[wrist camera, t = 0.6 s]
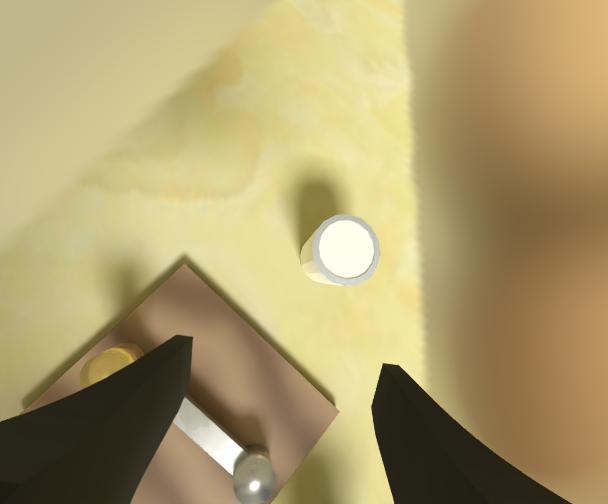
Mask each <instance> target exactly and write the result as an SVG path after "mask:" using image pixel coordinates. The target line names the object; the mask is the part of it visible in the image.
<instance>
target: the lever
mask: <svg viewBox="0 0 608 504" xmlns="http://www.w3.org/2000/svg"><path fill="white" fill-rule="evenodd" d="M142 356H144V352H143V351H142V349H141V348H140V347H139V346H137V345H135V344H132V343H123V344H119V345H117V346H115V347H113V348H111V349H109V350H106V351H104V352H102V353H100V354H98V355H96V356H94V357H92V358H91V359H89V360H88V361H87V362H86V363H85V364H84V366H83V367H82V369H81V372H80V376H79V382H80V386H81V388H82V389H84V388H86V387H88V386H90V385H92V384H94V383H96V382H98V381H100V380H102V379H104V378H106V377H108V376H110V375H111V374H113V373H115V372H117V371H118V370H120V369H122V368H124V367H125V366H127V365H129V364H131V363H132V362H134V361H136V360H137V359H139V358H140V357H142ZM173 423H174V424H176V425H177V426H178V427H179V428H180V429H181V430H182V431H183V432H185V433H186V434H187V435H188V436H189V437H190V438H191V439H192V440H194V441H195V442H196V443H197V444H198V445H199V446H200V447H201V448H202V449H204V450H205V451H206V452H207V453H208V454H209V455H210V456H211V457H213V458H214V459H215V460H216V461H217V462H218V463H219V464H220V465H222V466H223V467H224V468H225V469H226V470H227V471H228V472H229V473H231V474H232V476H233V489H234V494H235V496H236V498H237V499H238V501H239V502H241V503H242V504H261V503H263V502H264V501H266V500H267V499H268V498H269V497H270V495H271V494H272V492H273V490H274V487H275V483H276V475H275V471H274V468H273V465H272V462H271V459H270V456H269V453H268V451H267V450H266V449H265V448H264V447H263V446H261V445H259V444H249V445H246V446H244V445H243V444H242V443H241V442H240V441H239V440H238V439H236V438H235V437H234V436H233V435H232V434H231V433H230V432H229V431H228V430H227V429H225V428H224V427H223V426H222V425H221V424H220V423H219V422H218V421H217V420H216V419H214V418H213V417H212V416H211V415H210V414H209V413H208V412H207V411H206V410H204V409H203V408H202V407H201V406H200V405H199V404H198V403H197V402H196V401H195V400H193V399H192V398H191V397H190V396H189V395H188V394H187V393H186V394H185V397H184V399H183V402H182V404H181V407H180V409H179V411H178V413H177V415H176V417H175V418H174V420H173Z"/></svg>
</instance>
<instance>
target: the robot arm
mask: <svg viewBox="0 0 608 504" xmlns="http://www.w3.org/2000/svg"><path fill="white" fill-rule="evenodd" d="M192 346H193V337H191V336H184V335H175V336H173V337H172V338H170V339H169V340H167V341H165V342H164V343H162V344H161V345H159V346H158V347H156V348H155V349H153V350H152V351H150V352H148V353H147V354H145V355H144V356H142V357H140V358H139V359H137V360H136V361H134V362H132V363H131V364H129V365H127V366H125V367H124V368H122V369H120V370H118V371H117V372H115V373H113V374H111V375H110V376H108V377H106V378H104V379H102V380H100V381H98V382H96V383H94V384H92V385H90V386H88V387H86V388H84V389H82V390H80V391H78V392H76V393H73V394H71V395H69V396H67V397H64V398H62V399H60V400H57V401H55V402H52V403H50V404H47V405H45V406H42V407H40V408H37V409H35V410H32V411H30V412H27V413H24V414H21V415H19V416H16V417H13V418H10V419H7V420H4V421H1V422H0V504H130V503H131V501H132V499H133V496H134V494H135V492H136V490H137V487H138V485H139V483H140V481H141V479H142V477H143V475H144V473H145V471H146V469H147V468H148V466H149V464H150V462H151V460H152V458H153V457H154V455H155V453H156V451H157V449H158V448H159V446H160V444H161V442H162V440H163V438H164V437H165V435H166V433H167V431H168V429H169V428H170V426H171V424H172V422H173V420H174V418H175V417H176V415H177V413H178V411H179V409H180V407H181V404H182V402H183V399H184V397H185V394H186V392H187V389H188V387H189V384H190V376H191V361H192ZM371 408H372V416H373V423H374V429H375V435H376V439H377V442H378V446H379V450H380V453H381V457H382V461H383V464H384V468H385V471H386V475H387V478H388V482H389V485H390V489H391V492H392V496H393V500H394V504H572V503H570V502H568V501H567V500H565V499H563V498H562V497H560V496H558V495H557V494H555V493H553V492H552V491H550V490H548V489H547V488H545V487H544V486H542V485H540V484H539V483H537V482H536V481H534V480H533V479H531V478H530V477H528V476H527V475H525V474H524V473H522V472H521V471H520V470H518V469H517V468H515V467H514V466H512V465H511V464H509V463H508V462H507V461H505V460H504V459H502V458H501V457H500V456H498V455H497V454H496V453H494V452H493V451H492V450H490V449H489V448H488V447H487V446H485V445H484V444H482V442H480V441H479V440H478V439H476V438H475V437H474V436H473V435H472V434H470V433H469V432H468V431H467V430H466V429H464V428H463V427H462V426H461V425H460V424H459V423H458V422H456V421H455V420H454V419H453V418H452V417H451V416H450V415H449V414H448V413H447V412H446V411H444V410H443V409H442V408H441V407H440V406H439V405H438V404H437V403H436V402H435V401H434V400H433V399H432V398H431V397H430V396H429V395H428V394H427V393H426V392H425V391H424V390H423V389H422V388H421V387H420V386H419V385H418V384H417V383H416V382H415V381H414V380H413V379H412V378H411V377H410V376H409V375H408V374H407V373H406V372H405V371H404V370H403V369H402V368H401V367H400V366H399V365H393V364H385V363H383V365H382V369H381V373H380V376H379V380H378V384H377V388H376V391H375V395H374V399H373V402H372V406H371Z"/></svg>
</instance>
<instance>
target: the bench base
mask: <svg viewBox="0 0 608 504" xmlns="http://www.w3.org/2000/svg"><path fill="white" fill-rule="evenodd" d="M175 335H184V336H191V337H193V346H192V361H191V376H190V384H189V387H188V389H187V392H186V393H187V394H188V395H189V396H190V397H191V398H192V399H193V400H195V401H196V402H197V403H198V404H199V405H200V406H201V407H202V408H203V409H204V410H206V411H207V412H208V413H209V414H210V415H211V416H212V417H213V418H214V419H216V420H217V421H218V422H219V423H220V424H221V425H222V426H223V427H224V428H225V429H227V430H228V431H229V432H230V433H231V434H232V435H233V436H234V437H235V438H236V439H238V440H239V441H240V442H241V443H242V444H243V445H244V446H246V445H249V444H259V445H261V446H263V447H264V448H265V449H266V450H267V451H268V453H269V456H270V459H271V462H272V465H273V468H274V471H275V475H276V483H275V487H274V490H273V492H272V494H271V495H270V497H269V498H268V499H267V500H266V501H264V502H263V503H261V504H271V502H272V501H273V500H274V498H275V497H276V496H277V494H278V493H279V492H280V490H281V489H282V488H283V486H284V485H285V484H286V482H287V481H288V480H289V478H290V477H291V476H292V474H293V473H294V472H295V471H296V469H297V468H298V467H299V465H300V464H301V463H302V461H303V460H304V459H305V457H306V456H307V455H308V453H309V452H310V451H311V449H312V448H313V447H314V445H315V444H316V443H317V441H318V440H319V439H320V437H321V436H322V435H323V433H324V432H325V431H326V429H327V428H328V427H329V425H330V424H331V423H332V421H333V420H334V419H335V417H336V416H337V415H338V413H339V412H340V411H339V410H338V409H337V408H336V407H335V406H333V405H332V404H331V403H330V402H329V401H328V400H327V399H326V398H325V397H324V396H323V395H322V394H321V393H320V392H319V391H318V390H317V389H316V388H315V387H314V386H313V385H311V384H310V383H309V382H308V381H307V380H306V379H305V378H304V377H303V376H302V375H301V374H300V373H299V372H298V371H297V370H296V369H295V368H294V367H293V366H292V365H291V364H289V363H288V362H287V361H286V360H285V359H284V358H283V357H282V356H281V355H280V354H279V353H278V352H277V351H276V350H275V349H274V348H273V347H272V346H271V345H270V344H269V343H267V342H266V341H265V340H264V339H263V338H262V337H261V336H260V335H259V334H258V333H257V332H256V331H255V330H254V329H253V328H252V327H251V326H250V325H249V324H248V323H247V322H245V321H244V320H243V319H242V318H241V317H240V316H239V315H238V314H237V313H236V312H235V311H234V310H233V309H232V308H231V307H230V306H229V305H228V304H227V303H226V302H225V301H224V300H222V299H221V298H220V297H219V296H218V295H217V294H216V293H215V292H214V291H213V290H212V289H211V288H210V287H209V286H208V285H207V284H206V283H205V282H204V281H203V280H202V279H200V278H199V277H198V276H197V275H196V274H195V273H194V272H193V271H192V270H191V269H190V268H189V267H188V266H187V265H186V264H184V265H183V266H181V267H180V268H179V269H178V270H177V271H176V272H175V273H174V274H173V275H172V276H171V277H169V278H168V279H167V280H166V281H165V282H164V283H163V284H162V285H161V286H160V287H159V288H157V289H156V290H155V291H154V292H153V293H152V294H151V295H150V296H149V297H148V298H146V299H145V300H144V301H143V302H142V303H141V304H140V305H139V306H138V307H137V308H136V309H134V310H133V311H132V312H131V313H130V314H129V315H128V316H127V317H126V318H125V319H124V320H122V321H121V322H120V323H119V324H118V325H117V326H116V327H115V328H114V329H113V330H112V331H110V332H109V333H108V334H107V335H106V336H105V337H104V338H103V339H102V340H101V341H100V342H98V343H97V344H96V345H95V346H94V347H93V348H92V349H91V350H90V351H89V352H88V353H86V354H85V355H84V356H83V357H82V358H81V359H80V360H79V361H78V362H77V363H75V364H74V365H73V366H72V367H71V368H70V369H69V370H68V371H67V372H66V373H65V374H63V375H62V376H61V377H60V378H59V379H58V380H57V381H56V382H55V383H54V384H53V385H51V386H50V387H49V388H48V389H47V390H46V391H45V392H44V393H43V394H42V395H41V396H39V397H38V398H37V399H36V400H35V401H34V402H33V403H32V404H31V405H30V406H29V407H27V408H26V409H25V410H24V411H23V412H22V413H21V414H24V413H27V412H30V411H32V410H35V409H37V408H40V407H42V406H45V405H47V404H50V403H52V402H55V401H57V400H60V399H62V398H64V397H67V396H69V395H71V394H73V393H76V392H78V391H80V390H82V388H81V386H80V382H79V376H80V372H81V369H82V367H83V366H84V364H85V363H86V362H87V361H88V360H89V359H91V358H92V357H94V356H96V355H98V354H100V353H102V352H104V351H106V350H109V349H111V348H113V347H115V346H117V345H119V344H123V343H132V344H135V345H137V346H139V347H140V348H141V349H142V351H143V352H144V355H145V354H147V353H148V352H150V351H152V350H153V349H155V348H156V347H158V346H159V345H161V344H162V343H164V342H165V341H167V340H169V339H170V338H172V337H173V336H175ZM21 414H20V415H21ZM130 504H242V503H241V502H239V501H238V499H237V498H236V496H235V494H234V489H233V476H232V474H231V473H229V472H228V471H227V470H226V469H225V468H224V467H223V466H222V465H220V464H219V463H218V462H217V461H216V460H215V459H214V458H213V457H211V456H210V455H209V454H208V453H207V452H206V451H205V450H204V449H202V448H201V447H200V446H199V445H198V444H197V443H196V442H195V441H194V440H192V439H191V438H190V437H189V436H188V435H187V434H186V433H185V432H183V431H182V430H181V429H180V428H179V427H178V426H177V425H176V424H174V423H173V422H172V424H171V426H170V428H169V429H168V431H167V433H166V435H165V437H164V438H163V440H162V442H161V444H160V446H159V448H158V449H157V451H156V453H155V455H154V457H153V458H152V460H151V462H150V464H149V466H148V468H147V469H146V471H145V473H144V475H143V477H142V479H141V481H140V483H139V485H138V487H137V490H136V492H135V494H134V496H133V499H132V501H131V503H130Z"/></svg>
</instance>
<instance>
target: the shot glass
mask: <svg viewBox="0 0 608 504" xmlns="http://www.w3.org/2000/svg"><path fill="white" fill-rule="evenodd" d="M379 257H380V248H379V242H378V238H377V237H376V235H375V233H374V231H373V229H372V227H370V226H369V225H368V224H367V223H366V222H365V221H363V220H362V219H361V218H358V217H355V216H353V215H350V214H343V215H335V216H333V217H331V218H329V219H327V220H325V221H324V222H323V223H322V224H321V225H320V226H319V227H318V229H317V230H316V231H315V232H314V233H313V234H312V236H311V237H310V238H309V239H308V240H307V242H306V243H305V244H304V245H303V247H302V250H301V254H300V259H301V266H302V268H303V270H304V271H305V273H306V275H308V276H309V277H310V278H311V279H313V280H314V281H318V282H321V283H327V284H334V285H341V286H350V285H358V284H360V283H362V282H363V281H365V280H367V279H368V278H370V277H371V275H372V274H373V272H374V271H375V269H376V268H377V266H378V261H379Z"/></svg>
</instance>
